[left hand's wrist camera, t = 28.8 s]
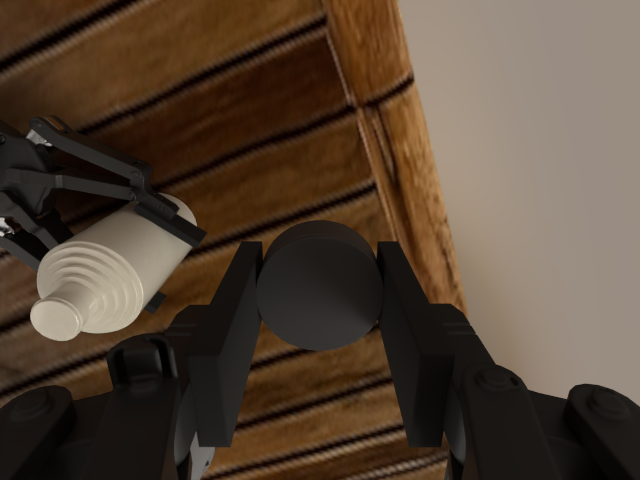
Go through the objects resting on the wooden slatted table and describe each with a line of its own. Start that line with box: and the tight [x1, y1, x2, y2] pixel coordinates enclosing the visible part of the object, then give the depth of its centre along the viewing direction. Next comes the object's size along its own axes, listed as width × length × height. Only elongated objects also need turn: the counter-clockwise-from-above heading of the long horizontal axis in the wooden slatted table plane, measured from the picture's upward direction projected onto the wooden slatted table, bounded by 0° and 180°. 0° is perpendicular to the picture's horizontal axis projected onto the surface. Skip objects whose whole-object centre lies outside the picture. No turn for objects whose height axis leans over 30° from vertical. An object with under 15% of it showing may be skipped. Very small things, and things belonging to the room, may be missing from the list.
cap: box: [256, 220, 384, 350], centre depth 14 cm, size 4×4×2 cm
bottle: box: [30, 193, 197, 341], centre depth 35 cm, size 8×8×19 cm
